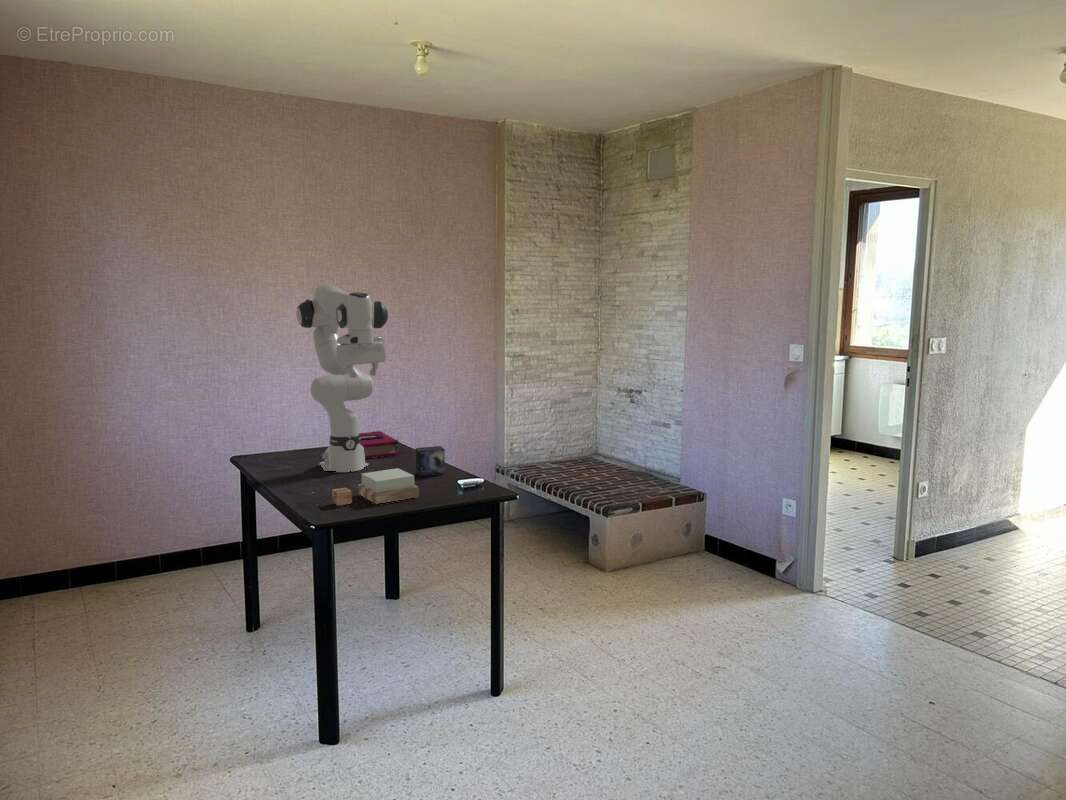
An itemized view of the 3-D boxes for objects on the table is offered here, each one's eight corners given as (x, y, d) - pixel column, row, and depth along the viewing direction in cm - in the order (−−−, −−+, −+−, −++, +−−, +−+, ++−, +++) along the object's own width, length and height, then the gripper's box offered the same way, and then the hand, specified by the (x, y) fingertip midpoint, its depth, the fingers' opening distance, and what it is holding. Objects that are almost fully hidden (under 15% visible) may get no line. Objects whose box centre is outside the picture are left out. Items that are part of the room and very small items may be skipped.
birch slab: (358, 496, 273) (358, 484, 272) (400, 489, 282) (399, 477, 281) (376, 506, 260) (376, 494, 259) (419, 499, 269) (418, 486, 268)
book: (353, 461, 329) (352, 444, 328) (336, 450, 353) (335, 434, 352) (400, 456, 338) (399, 439, 337) (380, 445, 363) (380, 429, 362)
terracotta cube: (332, 503, 262) (332, 489, 261) (346, 501, 265) (346, 487, 264) (337, 507, 258) (337, 492, 257) (352, 504, 261) (351, 490, 260)
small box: (419, 477, 298) (418, 450, 297) (415, 473, 304) (414, 447, 303) (445, 474, 302) (445, 448, 301) (441, 471, 308) (440, 445, 307)
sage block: (361, 484, 272) (361, 473, 271) (398, 478, 280) (397, 468, 279) (377, 492, 260) (376, 481, 260) (414, 486, 268) (414, 475, 268)
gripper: (377, 336, 284) (379, 373, 286) (332, 339, 268) (334, 378, 270) (388, 336, 280) (390, 374, 282) (344, 339, 264) (346, 379, 266)
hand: (363, 376), depth 276 cm, fingers open, 8 cm apart
